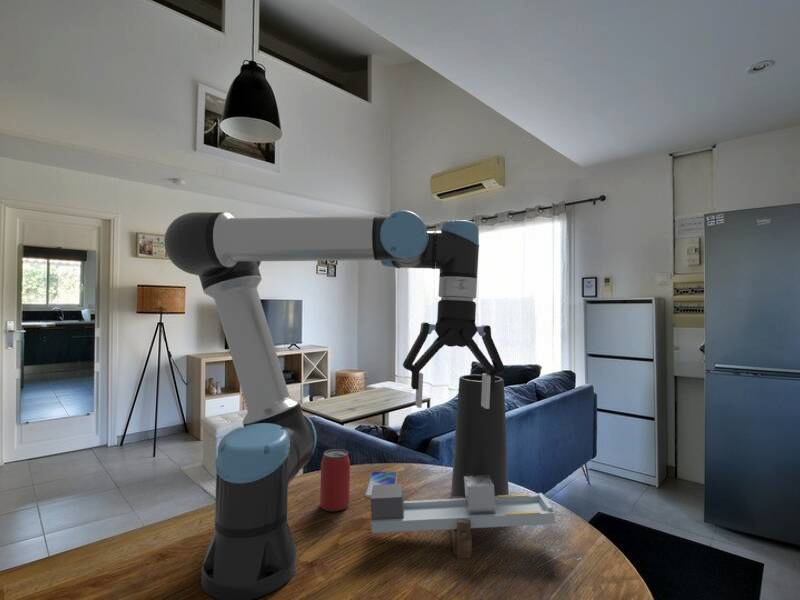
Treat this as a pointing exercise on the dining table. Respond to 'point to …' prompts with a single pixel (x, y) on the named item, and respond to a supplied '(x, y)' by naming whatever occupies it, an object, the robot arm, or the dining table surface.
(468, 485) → the block
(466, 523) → the fulcrum
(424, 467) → the dining table surface
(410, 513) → the beam
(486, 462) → the vase
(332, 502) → the beer can
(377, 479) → the smartphone
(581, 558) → the dining table surface
